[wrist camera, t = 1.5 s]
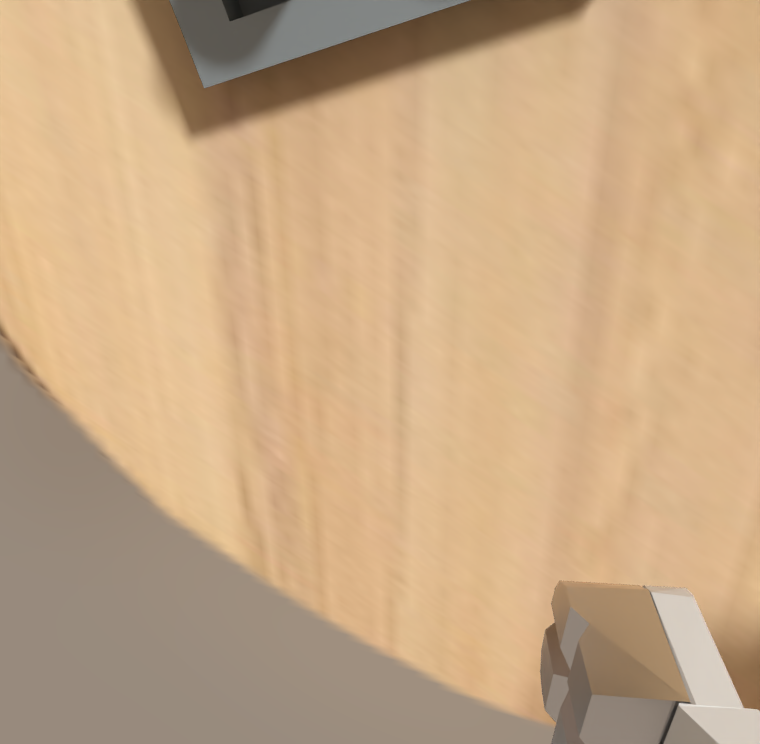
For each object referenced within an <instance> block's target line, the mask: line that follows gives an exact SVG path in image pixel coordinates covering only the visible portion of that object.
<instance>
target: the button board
mask: <svg viewBox="0 0 760 744" xmlns="http://www.w3.org/2000/svg"><path fill="white" fill-rule="evenodd" d="M169 1H170V3H171V6H172V8H173V11H174V13H175V16H176V18H177V21H178V23H179V26H180V28H181V31H182V33H183V36H184V38H185V41H186V44H187V46H188V49H189V51H190V54H191V56H192V59H193V61H194V64H195V66H196V69H197V71H198V74H199V76H200V79H201V81H202V84H203V86H204V88H207V87H210V86H213V85H216V84H219V83H222V82H225V81H228V80H231V79H234V78H237V77H240V76H243V75H246V74H249V73H252V72H255V71H258V70H261V69H264V68H267V67H270V66H273V65H276V64H279V63H282V62H285V61H288V60H291V59H294V58H297V57H301V56H304V55H307V54H310V53H313V52H316V51H319V50H322V49H325V48H328V47H331V46H334V45H337V44H340V43H343V42H346V41H349V40H352V39H355V38H358V37H361V36H364V35H367V34H370V33H373V32H376V31H379V30H382V29H385V28H388V27H391V26H394V25H397V24H400V23H403V22H406V21H409V20H412V19H415V18H418V17H421V16H424V15H427V14H430V13H433V12H436V11H439V10H442V9H445V8H448V7H451V6H454V5H457V4H460V3H463V2H466V1H469V0H169Z"/></svg>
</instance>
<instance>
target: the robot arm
mask: <svg viewBox="0 0 760 744" xmlns="http://www.w3.org/2000/svg"><path fill="white" fill-rule="evenodd" d="M551 605H552V610H553V615H554V620H555V623H553V624H552V625H551V626H550V627H548V628H547V629H546V630H545V634H544V639H543V644H542V650H541V670H540V673H541V686H542V695H543V701H544V707H545V711H546V712H547V713H548V714H549V715H550V716H551V717H552V718H553V720H554V721H555V722H556V727H555V731H554V735H553V739H552V743H551V744H760V711H759V710H758V709H749V708H744V707H743V704H742V702H741V700H740V698H739V696H738V693H737V691H736V689H735V687H734V684H733V682H732V680H731V678H730V676H729V673H728V671H727V669H726V667H725V664H724V662H723V660H722V658H721V655H720V653H719V651H718V649H717V647H716V644H715V642H714V640H713V638H712V635H711V633H710V631H709V629H708V627H707V624H706V622H705V620H704V618H703V615H702V613H701V611H700V609H699V606H698V604H697V602H696V600H695V598H694V595H693V594H692V593H691V592H690V591H689V590H688V589H687V588H678V587H661V586H642V587H641V586H639V585H624V584H607V583H591V582H574V581H559V582H558V584H557V586H556V588H555V591H554V595H553V599H552V603H551Z"/></svg>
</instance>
